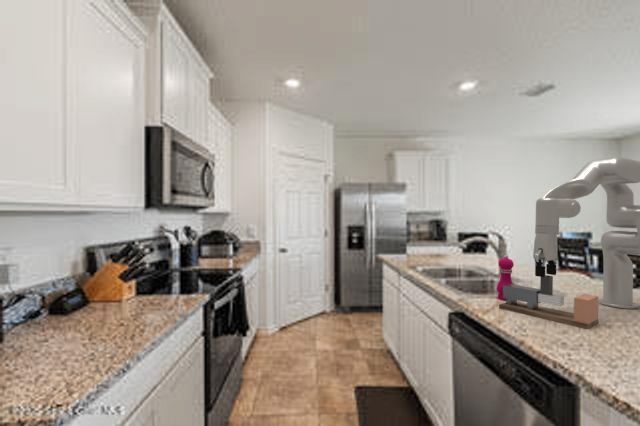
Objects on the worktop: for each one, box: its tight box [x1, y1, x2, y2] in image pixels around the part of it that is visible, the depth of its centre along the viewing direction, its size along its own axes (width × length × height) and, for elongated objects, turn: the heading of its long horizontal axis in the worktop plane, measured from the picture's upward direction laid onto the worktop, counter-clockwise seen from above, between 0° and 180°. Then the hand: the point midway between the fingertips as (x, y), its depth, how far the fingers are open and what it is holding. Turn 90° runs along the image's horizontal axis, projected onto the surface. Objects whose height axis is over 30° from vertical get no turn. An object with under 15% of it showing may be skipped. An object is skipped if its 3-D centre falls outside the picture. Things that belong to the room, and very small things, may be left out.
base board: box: [498, 301, 600, 329], centre depth 130 cm, size 11×30×2 cm, turn 35°
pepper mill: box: [496, 254, 515, 301], centre depth 153 cm, size 7×7×20 cm
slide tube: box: [537, 274, 565, 307], centre depth 133 cm, size 3×19×10 cm, turn 35°
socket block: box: [573, 293, 599, 324], centre depth 119 cm, size 10×4×8 cm, turn 125°
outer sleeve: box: [503, 283, 542, 310], centre depth 137 cm, size 5×12×8 cm, turn 35°
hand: (545, 275), depth 129 cm, fingers open, 9 cm apart
